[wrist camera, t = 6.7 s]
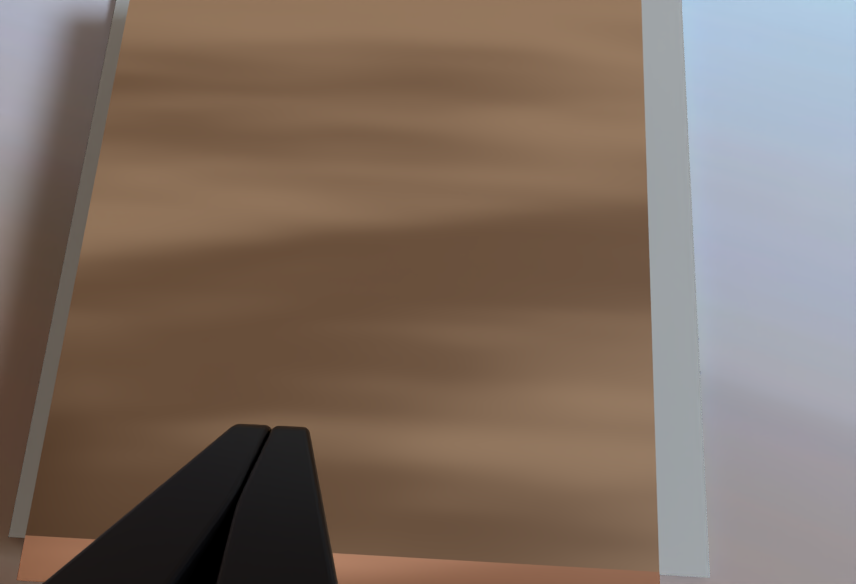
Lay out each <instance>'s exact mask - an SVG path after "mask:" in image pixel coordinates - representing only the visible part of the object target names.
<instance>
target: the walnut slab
mask: <svg viewBox="0 0 856 584" xmlns="http://www.w3.org/2000/svg"><path fill="white" fill-rule="evenodd" d="M236 424H259V425H268V426H269V427H270V428H271V429H272V428H274V427H276V426H297V427H306V428H307V429H308V430H309V432H310V436H311V441H312V446H313V452H314V457H315V462H316V468H317V473H318V478H319V484H320V489H321V495H322V500H323V505H324V511H325V516H326V521H327V527H328V532H329V537H330V543H331V548H332V553H333V559H334V564H335V570H336V575H337V580H338V584H660V575H659V543H658V512H657V480H656V448H655V416H654V385H653V353H652V321H651V289H650V258H649V226H648V194H647V163H646V131H645V99H644V67H643V36H642V4H641V0H130V1H129V6H128V11H127V16H126V21H125V27H124V32H123V37H122V42H121V47H120V52H119V57H118V62H117V68H116V73H115V78H114V83H113V88H112V93H111V98H110V104H109V109H108V114H107V119H106V124H105V129H104V134H103V139H102V145H101V150H100V155H99V160H98V165H97V170H96V175H95V180H94V186H93V191H92V196H91V201H90V206H89V211H88V216H87V222H86V227H85V232H84V237H83V242H82V247H81V252H80V257H79V263H78V268H77V273H76V278H75V283H74V288H73V293H72V298H71V304H70V309H69V314H68V319H67V324H66V329H65V334H64V340H63V345H62V350H61V355H60V360H59V365H58V370H57V375H56V381H55V386H54V391H53V396H52V401H51V406H50V411H49V416H48V422H47V427H46V432H45V437H44V442H43V447H42V452H41V458H40V463H39V468H38V473H37V478H36V483H35V488H34V493H33V499H32V504H31V509H30V514H29V519H28V524H27V529H26V534H25V540H24V545H23V550H22V555H21V560H20V565H19V570H18V576H17V580H21V581H38V582H45V581H46V580H47V579H48V578H50V577H51V576H52V575H53V574H55V573H56V572H57V571H58V570H59V569H61V568H62V567H63V566H64V565H65V564H67V563H68V562H69V561H70V560H71V559H73V558H74V557H75V556H76V555H77V554H79V553H80V552H81V551H82V550H83V549H85V548H86V547H87V546H88V545H89V544H91V543H92V542H93V541H94V540H95V539H97V538H98V537H99V536H100V535H101V534H103V533H104V532H105V531H106V530H108V529H109V528H110V527H111V526H112V525H114V524H115V523H116V522H117V521H118V520H120V519H121V518H122V517H123V516H124V515H126V514H127V513H128V512H129V511H130V510H132V509H133V508H134V507H135V506H136V505H138V504H139V503H140V502H141V501H142V500H144V499H145V498H146V497H147V496H148V495H150V494H151V493H152V492H153V491H154V490H156V489H157V488H158V487H159V486H160V485H162V484H163V483H164V482H165V481H167V480H168V479H169V478H170V477H171V476H173V475H174V474H175V473H176V472H177V471H179V470H180V469H181V468H182V467H183V466H185V465H186V464H187V463H188V462H189V461H191V460H192V459H193V458H194V457H195V456H197V455H198V454H199V453H200V452H201V451H203V450H204V449H205V448H206V447H207V446H209V445H210V444H211V443H212V442H213V441H215V440H216V439H217V438H218V437H219V436H221V435H222V434H223V433H224V432H226V431H227V430H228V429H229V428H230V427H232V426H234V425H236Z"/></svg>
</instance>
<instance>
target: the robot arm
mask: <svg viewBox="0 0 856 584" xmlns="http://www.w3.org/2000/svg"><path fill="white" fill-rule="evenodd" d="M42 584H338V580H337V575H336V570H335V564H334V559H333V553H332V548H331V543H330V537H329V532H328V527H327V521H326V516H325V511H324V505H323V500H322V495H321V489H320V484H319V478H318V473H317V468H316V462H315V457H314V452H313V446H312V441H311V436H310V432H309V430H308V429H307V428H306V427H297V426H276V427H274V428H272V429H271V428H270V427H269V426H268V425H259V424H236V425H234V426H232V427H230V428H229V429H228V430H227V431H226V432H224V433H223V434H222V435H221V436H219V437H218V438H217V439H216V440H215V441H213V442H212V443H211V444H210V445H209V446H207V447H206V448H205V449H204V450H203V451H201V452H200V453H199V454H198V455H197V456H195V457H194V458H193V459H192V460H191V461H189V462H188V463H187V464H186V465H185V466H183V467H182V468H181V469H180V470H179V471H177V472H176V473H175V474H174V475H173V476H171V477H170V478H169V479H168V480H167V481H165V482H164V483H163V484H162V485H160V486H159V487H158V488H157V489H156V490H154V491H153V492H152V493H151V494H150V495H148V496H147V497H146V498H145V499H144V500H142V501H141V502H140V503H139V504H138V505H136V506H135V507H134V508H133V509H132V510H130V511H129V512H128V513H127V514H126V515H124V516H123V517H122V518H121V519H120V520H118V521H117V522H116V523H115V524H114V525H112V526H111V527H110V528H109V529H108V530H106V531H105V532H104V533H103V534H101V535H100V536H99V537H98V538H97V539H95V540H94V541H93V542H92V543H91V544H89V545H88V546H87V547H86V548H85V549H83V550H82V551H81V552H80V553H79V554H77V555H76V556H75V557H74V558H73V559H71V560H70V561H69V562H68V563H67V564H65V565H64V566H63V567H62V568H61V569H59V570H58V571H57V572H56V573H55V574H53V575H52V576H51V577H50V578H48V579H47V580H46V581H45V582H44V583H42Z"/></svg>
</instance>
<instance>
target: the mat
mask: <svg viewBox="0 0 856 584" xmlns="http://www.w3.org/2000/svg"><path fill="white" fill-rule="evenodd" d="M129 1H130V0H116V4H115V9H114V13H113V18H112V23H111V28H110V33H109V38H108V43H107V48H106V53H105V58H104V63H103V68H102V73H101V78H100V83H99V88H98V93H97V98H96V103H95V108H94V113H93V118H92V123H91V128H90V133H89V138H88V143H87V148H86V153H85V158H84V163H83V168H82V173H81V178H80V183H79V188H78V193H77V198H76V203H75V208H74V213H73V218H72V223H71V228H70V232H69V237H68V242H67V247H66V252H65V257H64V262H63V267H62V272H61V277H60V282H59V287H58V292H57V297H56V302H55V307H54V312H53V317H52V322H51V327H50V332H49V337H48V342H47V347H46V352H45V357H44V362H43V367H42V372H41V377H40V382H39V387H38V392H37V397H36V402H35V407H34V412H33V417H32V422H31V427H30V432H29V437H28V442H27V447H26V452H25V456H24V461H23V466H22V471H21V476H20V481H19V486H18V491H17V496H16V501H15V506H14V511H13V516H12V521H11V526H10V531H9V536H8V537H17V538H25V534H26V529H27V524H28V519H29V514H30V509H31V504H32V499H33V493H34V488H35V483H36V478H37V473H38V468H39V463H40V458H41V452H42V447H43V442H44V437H45V432H46V427H47V422H48V416H49V411H50V406H51V401H52V396H53V391H54V386H55V381H56V375H57V370H58V365H59V360H60V355H61V350H62V345H63V340H64V334H65V329H66V324H67V319H68V314H69V309H70V304H71V298H72V293H73V288H74V283H75V278H76V273H77V268H78V263H79V257H80V252H81V247H82V242H83V237H84V232H85V227H86V222H87V216H88V211H89V206H90V201H91V196H92V191H93V186H94V180H95V175H96V170H97V165H98V160H99V155H100V150H101V145H102V139H103V134H104V129H105V124H106V119H107V114H108V109H109V104H110V98H111V93H112V88H113V83H114V78H115V73H116V68H117V62H118V57H119V52H120V47H121V42H122V37H123V32H124V27H125V21H126V16H127V11H128V6H129ZM641 4H642V36H643V67H644V99H645V131H646V163H647V194H648V226H649V258H650V289H651V321H652V353H653V385H654V416H655V448H656V480H657V512H658V543H659V575H672V576H689V577H707V578H710V568H709V548H708V527H707V507H706V487H705V466H704V446H703V426H702V405H701V385H700V365H699V345H698V324H697V304H696V284H695V263H694V243H693V223H692V202H691V182H690V162H689V141H688V121H687V101H686V81H685V60H684V40H683V20H682V0H641Z"/></svg>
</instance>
